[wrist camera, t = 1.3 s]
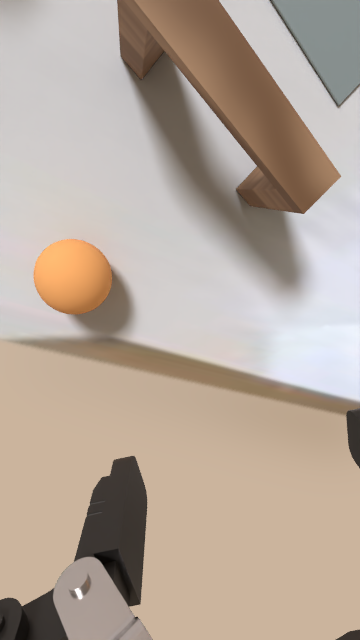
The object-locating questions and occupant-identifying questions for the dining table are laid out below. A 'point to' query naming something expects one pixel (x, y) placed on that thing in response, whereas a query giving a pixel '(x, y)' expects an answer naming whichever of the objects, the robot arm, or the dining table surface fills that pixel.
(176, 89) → the dining table surface
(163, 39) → the bridge
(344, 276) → the dining table surface
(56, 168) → the dining table surface
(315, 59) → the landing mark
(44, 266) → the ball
